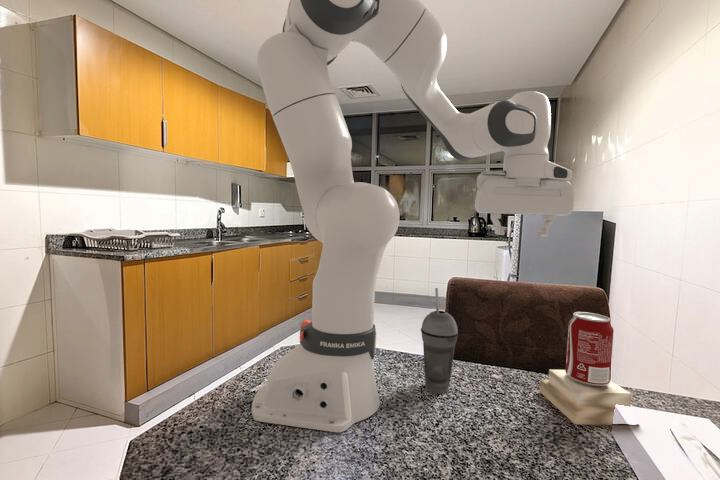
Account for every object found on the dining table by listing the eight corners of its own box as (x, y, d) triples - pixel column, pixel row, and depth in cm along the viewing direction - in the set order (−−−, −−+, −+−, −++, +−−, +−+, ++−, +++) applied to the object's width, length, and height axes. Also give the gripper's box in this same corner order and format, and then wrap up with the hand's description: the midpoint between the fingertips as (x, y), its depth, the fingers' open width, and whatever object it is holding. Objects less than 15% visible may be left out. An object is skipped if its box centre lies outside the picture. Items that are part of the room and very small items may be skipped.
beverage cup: (438, 401, 64) (443, 294, 63) (410, 385, 70) (414, 287, 69) (463, 390, 68) (468, 290, 67) (435, 376, 74) (439, 284, 73)
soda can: (617, 392, 59) (622, 322, 58) (573, 386, 60) (577, 319, 60) (599, 375, 66) (603, 312, 65) (560, 370, 67) (563, 309, 66)
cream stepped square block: (574, 424, 58) (576, 395, 57) (539, 391, 69) (541, 367, 68) (639, 425, 58) (641, 396, 58) (594, 392, 69) (595, 368, 69)
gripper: (482, 167, 71) (478, 234, 72) (580, 171, 72) (575, 237, 72) (472, 172, 78) (469, 233, 78) (562, 175, 78) (558, 236, 79)
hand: (521, 235), depth 75 cm, fingers open, 8 cm apart
